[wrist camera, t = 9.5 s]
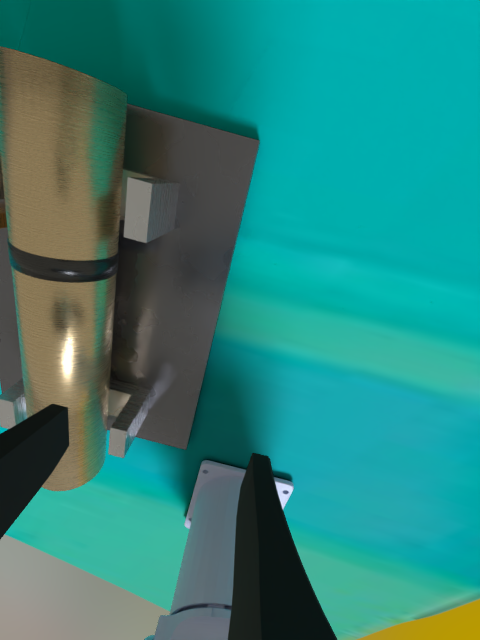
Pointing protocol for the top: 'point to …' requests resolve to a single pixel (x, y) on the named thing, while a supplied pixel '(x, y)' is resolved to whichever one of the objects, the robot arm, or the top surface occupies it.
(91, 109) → the tube
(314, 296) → the top surface
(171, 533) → the top surface
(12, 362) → the plate
